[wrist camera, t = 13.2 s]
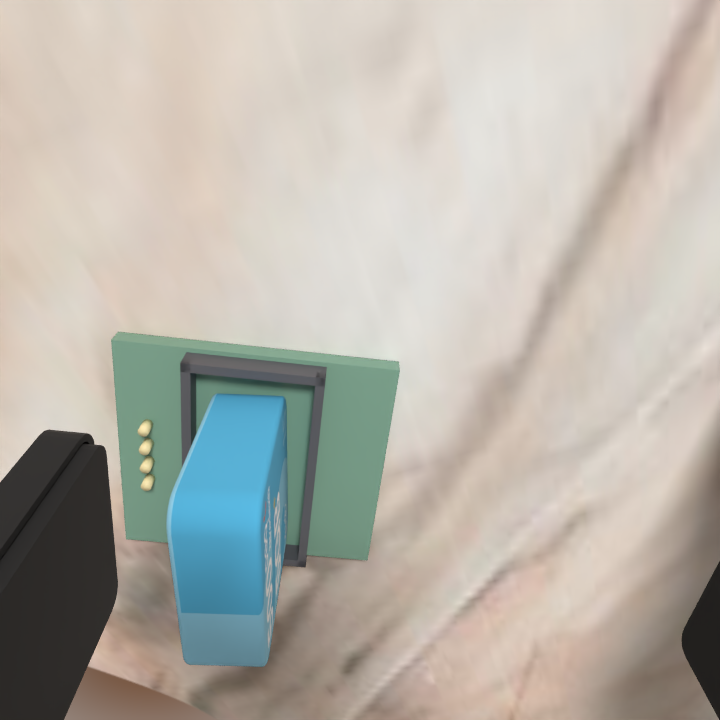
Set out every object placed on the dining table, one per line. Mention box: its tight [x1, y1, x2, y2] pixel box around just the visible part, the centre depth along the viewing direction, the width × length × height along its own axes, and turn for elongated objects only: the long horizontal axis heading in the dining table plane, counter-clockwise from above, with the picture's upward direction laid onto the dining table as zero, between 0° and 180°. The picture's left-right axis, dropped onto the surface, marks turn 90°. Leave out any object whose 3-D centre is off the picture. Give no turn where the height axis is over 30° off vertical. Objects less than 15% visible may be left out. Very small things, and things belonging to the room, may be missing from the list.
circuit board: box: [111, 332, 400, 567], centre depth 41 cm, size 18×16×3 cm
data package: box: [166, 393, 288, 667], centre depth 36 cm, size 12×4×12 cm, turn 177°
